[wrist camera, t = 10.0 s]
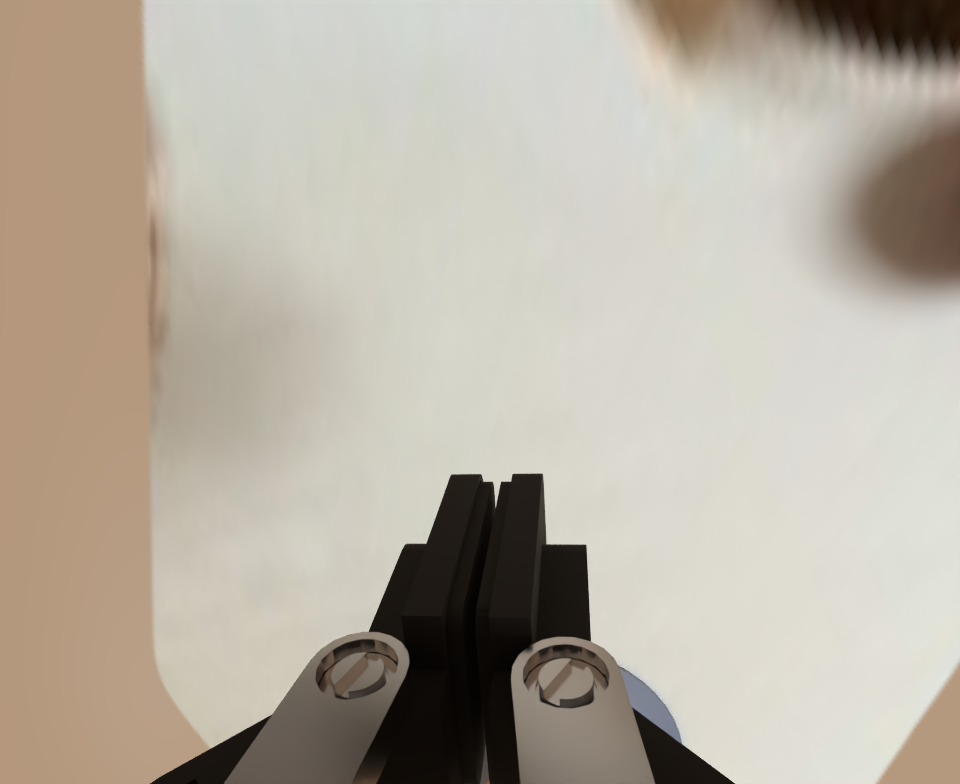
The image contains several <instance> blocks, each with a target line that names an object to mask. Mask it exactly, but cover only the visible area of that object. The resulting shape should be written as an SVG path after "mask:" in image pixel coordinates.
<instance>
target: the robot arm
mask: <svg viewBox="0 0 960 784" xmlns="http://www.w3.org/2000/svg"><path fill="white" fill-rule="evenodd" d="M485 747H486V752H487V763H488V774H489V783H490V784H735V783H733V782H732V781H731V780H729V779H728V778H727V777H725V776H724V775H723V774H721V773H720V772H719V771H717V770H716V769H715V768H713V767H712V766H711V765H709V764H708V763H706V762H705V761H704V760H702V759H701V758H700V757H698V756H697V755H696V754H694V753H693V752H692V751H690V750H689V749H688V748H686V747H685V746H684V745H682V744H681V743H680V742H678V741H677V740H676V739H674V738H673V737H672V736H670V735H669V734H668V733H666V732H665V731H664V730H662V729H661V728H659V727H658V726H657V725H655V724H654V723H653V722H651V721H650V720H649V719H647V718H646V717H645V716H643V715H642V714H641V713H639V712H638V711H637V710H635V709H634V708H633V707H632V706H631V703H630V700H629V696H628V693H627V690H626V687H625V683H624V680H623V677H622V674H621V670H620V668H619V666H618V665H617V663H616V661H615V659H614V658H613V657H612V656H611V655H610V654H609V653H608V652H607V651H606V650H605V649H604V648H602V647H600V646H598V645H596V644H594V643H592V642H591V634H590V613H589V591H588V570H587V549H586V545H546V525H545V504H544V483H543V474H513V475H512V481H511V482H501V485H500V490H499V495H498V500H497V505H496V508H495V495H494V485H493V482H483V478H482V475H481V474H459V475H451V477H450V479H449V482H448V485H447V488H446V490H445V493H444V496H443V499H442V502H441V504H440V507H439V510H438V513H437V516H436V519H435V521H434V524H433V527H432V530H431V533H430V535H429V538H428V541H427V544H406V545H405V546H404V548H403V549H402V552H401V554H400V556H399V559H398V561H397V564H396V566H395V569H394V571H393V574H392V576H391V578H390V581H389V583H388V586H387V588H386V591H385V593H384V595H383V598H382V600H381V603H380V605H379V608H378V610H377V613H376V615H375V617H374V620H373V622H372V625H371V627H370V630H369V632H361V633H356V634H350V635H347V636H344V637H342V638H339V639H337V640H334V641H333V642H331V643H330V644H328V645H327V646H325V647H324V648H322V649H321V650H320V651H319V652H318V653H317V654H316V655H315V656H314V657H313V658H312V659H311V660H310V662H309V663H308V665H307V666H306V667H305V669H304V670H303V672H302V673H301V674H300V676H299V677H298V679H297V680H296V682H295V683H294V684H293V686H292V687H291V689H290V690H289V692H288V693H287V694H286V696H285V697H284V699H283V700H282V701H281V703H280V704H279V706H278V707H277V709H276V710H275V711H274V713H273V714H272V715H271V716H269V717H267V718H265V719H263V720H262V721H260V722H258V723H256V724H254V725H253V726H251V727H249V728H247V729H245V730H244V731H242V732H240V733H238V734H236V735H235V736H233V737H231V738H229V739H227V740H226V741H224V742H222V743H220V744H218V745H217V746H215V747H213V748H211V749H210V750H208V751H206V752H204V753H202V754H201V755H199V756H197V757H195V758H193V759H192V760H190V761H188V762H186V763H184V764H183V765H181V766H179V767H177V768H175V769H174V770H172V771H170V772H168V773H166V774H165V775H163V776H161V777H159V778H158V779H156V780H155V781H153V782H152V783H150V784H480V782H481V776H482V769H483V761H484V754H485Z"/></svg>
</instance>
